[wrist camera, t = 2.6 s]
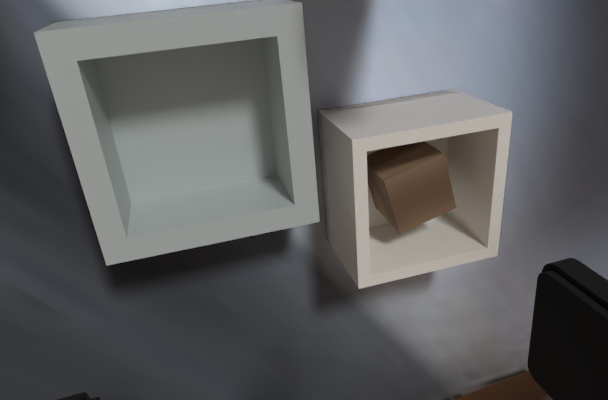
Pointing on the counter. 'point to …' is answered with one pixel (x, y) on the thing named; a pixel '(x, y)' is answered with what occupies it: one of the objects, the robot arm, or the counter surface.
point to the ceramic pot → (462, 171)
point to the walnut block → (410, 184)
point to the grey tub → (187, 123)
